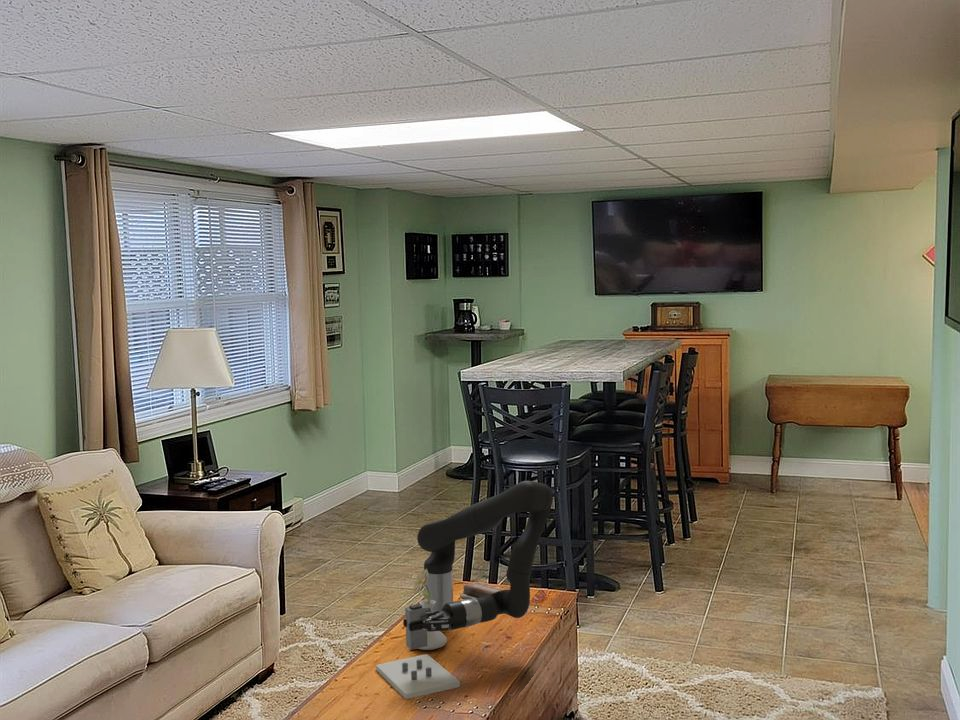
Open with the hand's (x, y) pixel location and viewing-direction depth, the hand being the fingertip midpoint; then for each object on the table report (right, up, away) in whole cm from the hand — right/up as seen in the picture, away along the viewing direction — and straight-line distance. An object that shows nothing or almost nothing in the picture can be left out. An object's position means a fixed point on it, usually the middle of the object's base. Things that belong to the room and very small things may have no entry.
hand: (406, 625), depth 262 cm
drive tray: (+3, -16, +3) cm, 16 cm away
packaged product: (+23, -11, +68) cm, 72 cm away
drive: (+3, -6, +2) cm, 7 cm away
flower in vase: (+5, -14, +25) cm, 29 cm away
